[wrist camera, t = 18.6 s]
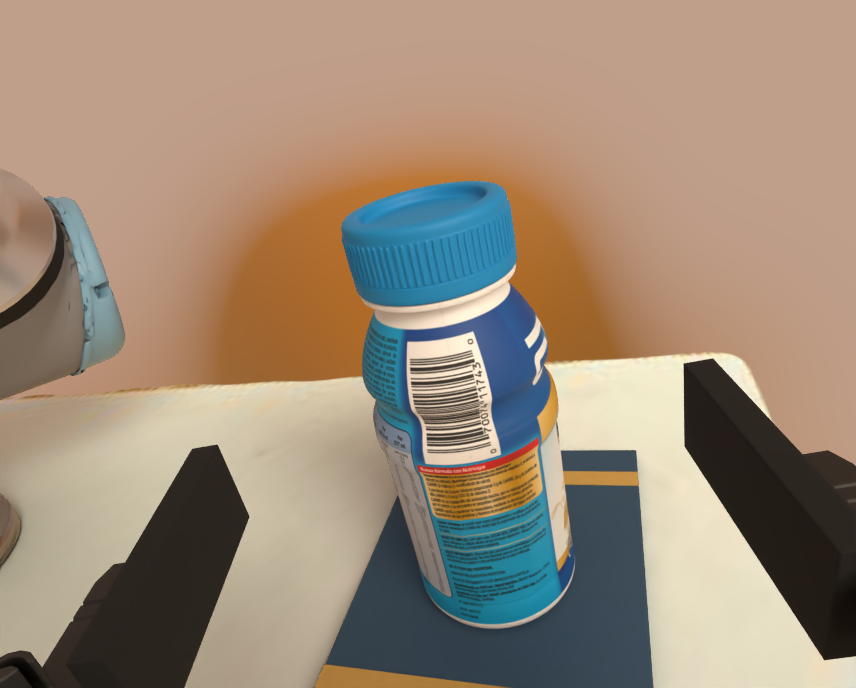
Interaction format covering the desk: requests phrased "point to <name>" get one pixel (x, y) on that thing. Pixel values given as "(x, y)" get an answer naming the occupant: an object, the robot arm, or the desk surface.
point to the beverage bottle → (463, 400)
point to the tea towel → (524, 644)
